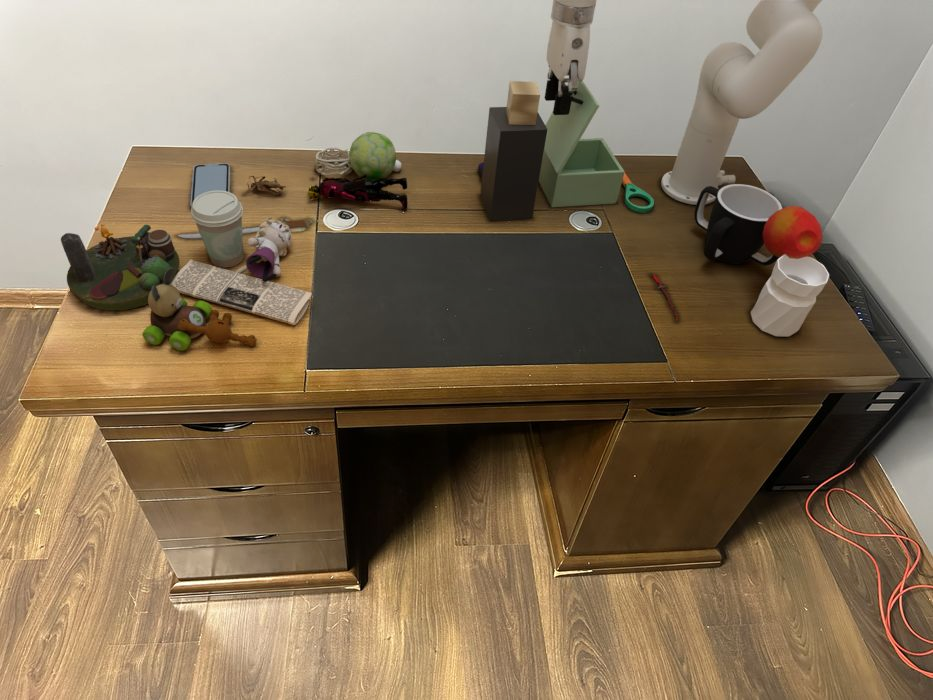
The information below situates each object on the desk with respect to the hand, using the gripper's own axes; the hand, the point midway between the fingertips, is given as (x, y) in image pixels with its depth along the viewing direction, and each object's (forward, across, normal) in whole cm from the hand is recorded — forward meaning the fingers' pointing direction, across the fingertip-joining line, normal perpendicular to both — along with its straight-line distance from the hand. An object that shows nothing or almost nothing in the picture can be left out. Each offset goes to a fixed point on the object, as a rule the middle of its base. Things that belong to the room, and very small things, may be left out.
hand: (556, 106), depth 136 cm
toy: (+15, -26, +61) cm, 69 cm away
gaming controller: (+19, +5, +9) cm, 22 cm away
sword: (+19, -11, +62) cm, 65 cm away
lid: (+4, 0, -3) cm, 5 cm away
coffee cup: (+19, -16, +65) cm, 70 cm away
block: (-1, -6, +9) cm, 11 cm away
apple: (+3, -43, -32) cm, 53 cm away
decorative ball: (+10, +5, +38) cm, 39 cm away
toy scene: (+19, -20, +82) cm, 86 cm away
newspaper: (+17, -27, +62) cm, 70 cm away
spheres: (+18, +16, +32) cm, 40 cm away
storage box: (+19, 0, -7) cm, 21 cm away
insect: (+15, +3, +59) cm, 61 cm away
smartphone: (+19, +7, +69) cm, 72 cm away
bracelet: (+17, +11, +48) cm, 52 cm away
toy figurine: (+17, -33, +65) cm, 75 cm away
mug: (+19, -25, -32) cm, 45 cm away
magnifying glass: (+20, -3, -19) cm, 28 cm away
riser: (+19, -6, +10) cm, 22 cm away
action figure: (+19, 0, +40) cm, 44 cm away
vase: (+19, -45, -31) cm, 58 cm away
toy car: (+19, -34, +72) cm, 82 cm away
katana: (+19, -38, -16) cm, 45 cm away
